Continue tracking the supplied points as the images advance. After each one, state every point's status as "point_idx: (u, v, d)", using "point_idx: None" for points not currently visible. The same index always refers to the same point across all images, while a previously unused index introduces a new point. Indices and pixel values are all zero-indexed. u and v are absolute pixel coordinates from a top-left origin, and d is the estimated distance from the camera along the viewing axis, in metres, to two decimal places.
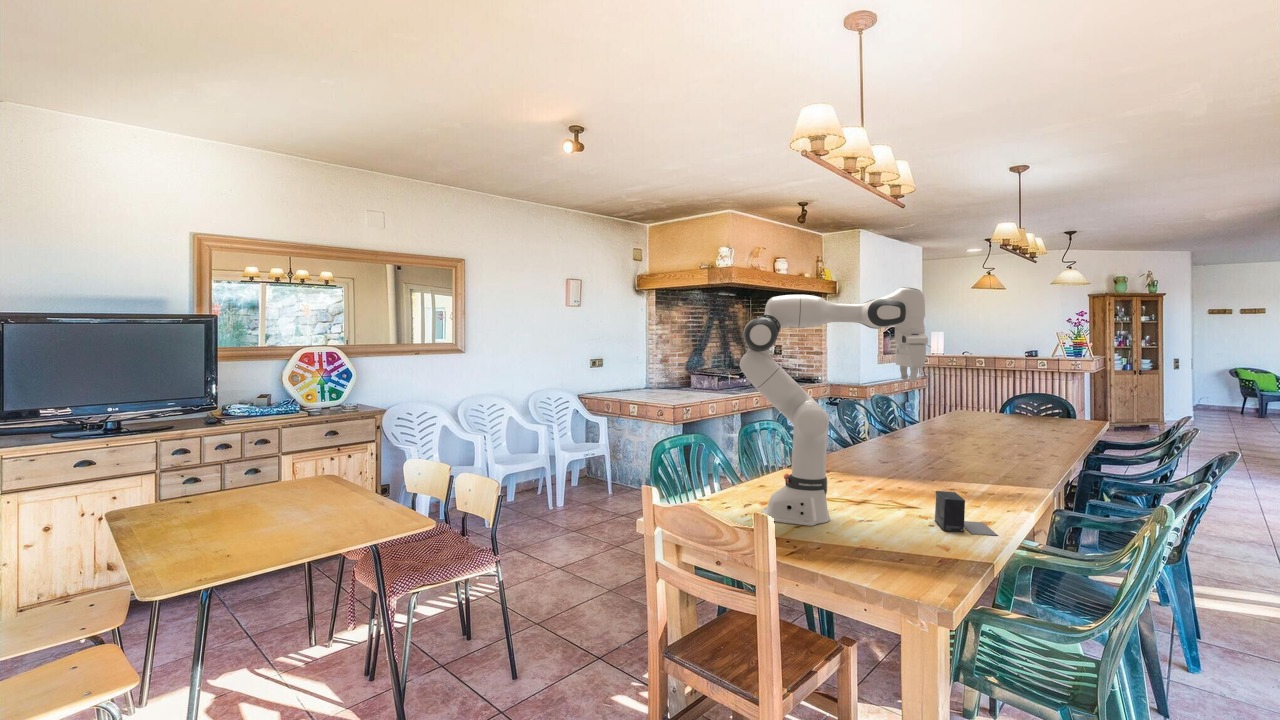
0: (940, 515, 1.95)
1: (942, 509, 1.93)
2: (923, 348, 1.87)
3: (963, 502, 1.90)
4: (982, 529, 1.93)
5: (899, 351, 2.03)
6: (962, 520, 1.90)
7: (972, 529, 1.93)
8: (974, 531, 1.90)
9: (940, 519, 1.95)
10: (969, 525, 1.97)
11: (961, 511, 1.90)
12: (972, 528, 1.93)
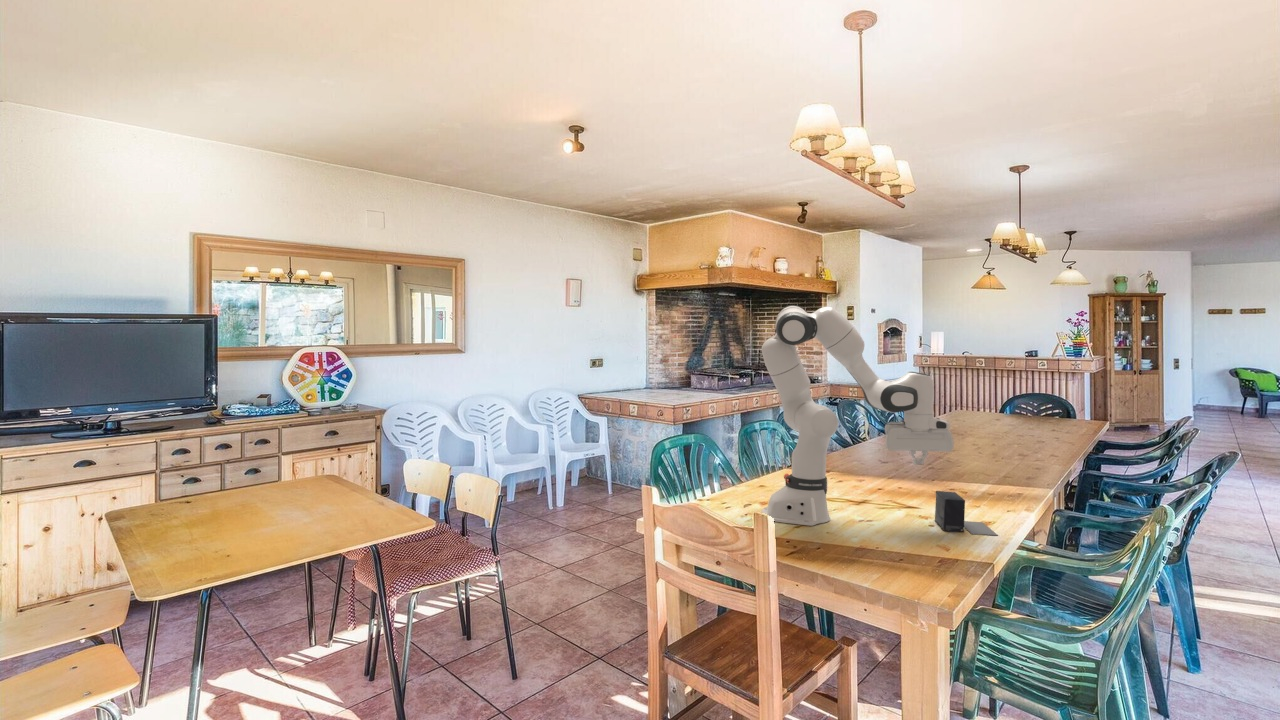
0: (940, 515, 1.95)
1: (942, 509, 1.93)
2: None
3: (963, 502, 1.90)
4: (982, 529, 1.93)
5: (901, 436, 1.96)
6: (962, 520, 1.90)
7: (972, 529, 1.93)
8: (974, 531, 1.90)
9: (940, 519, 1.95)
10: (969, 525, 1.97)
11: (961, 511, 1.90)
12: (972, 528, 1.93)
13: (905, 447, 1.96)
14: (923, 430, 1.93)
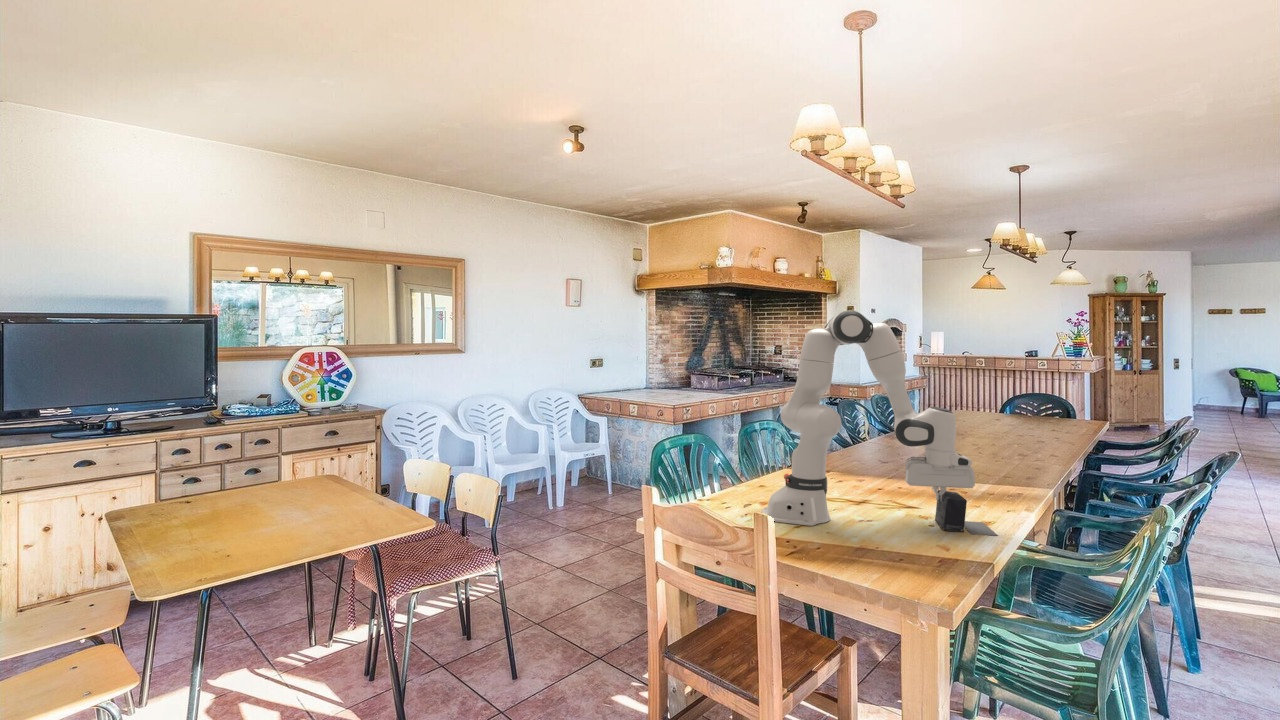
0: (941, 514, 1.95)
1: (943, 508, 1.93)
2: None
3: (965, 502, 1.90)
4: (982, 529, 1.93)
5: (922, 472, 1.95)
6: (963, 520, 1.90)
7: (972, 529, 1.93)
8: (974, 531, 1.90)
9: (941, 518, 1.95)
10: (969, 525, 1.97)
11: (962, 511, 1.90)
12: (972, 528, 1.93)
13: (926, 483, 1.95)
14: (945, 466, 1.93)
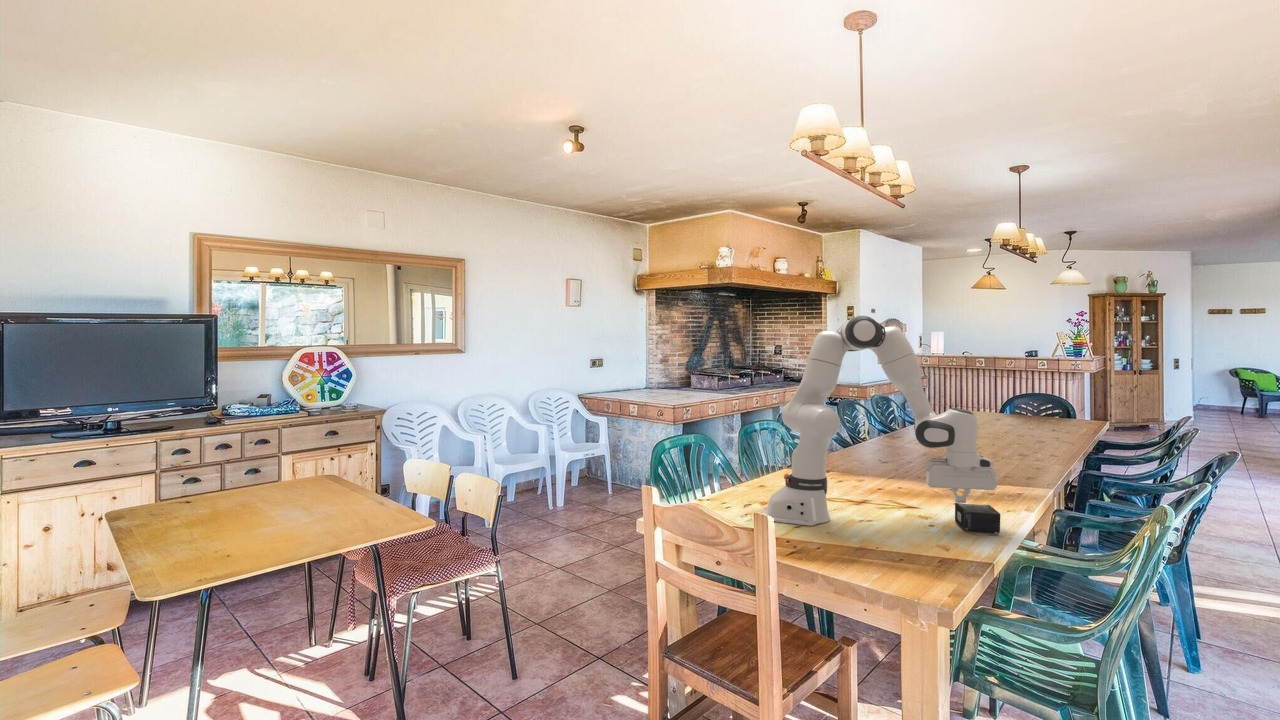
0: (974, 509, 1.93)
1: (984, 511, 1.91)
2: None
3: (997, 531, 1.88)
4: None
5: (943, 473, 1.94)
6: (977, 529, 1.90)
7: None
8: (974, 531, 1.90)
9: (970, 509, 1.93)
10: None
11: (987, 528, 1.89)
12: None
13: (947, 485, 1.94)
14: (966, 468, 1.91)
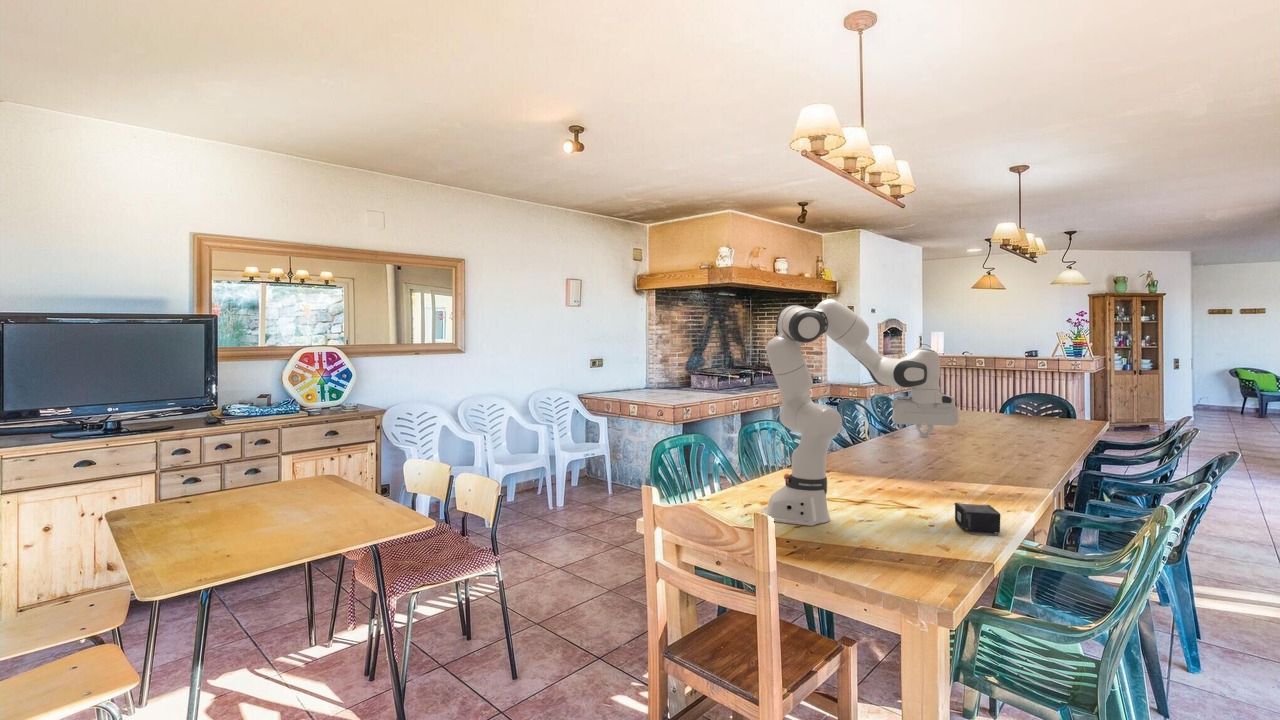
0: (974, 509, 1.93)
1: (984, 511, 1.91)
2: None
3: (997, 531, 1.88)
4: None
5: (908, 410, 2.04)
6: (977, 529, 1.90)
7: None
8: (974, 531, 1.90)
9: (970, 509, 1.93)
10: None
11: (987, 528, 1.89)
12: None
13: (911, 421, 2.03)
14: (929, 404, 2.01)
